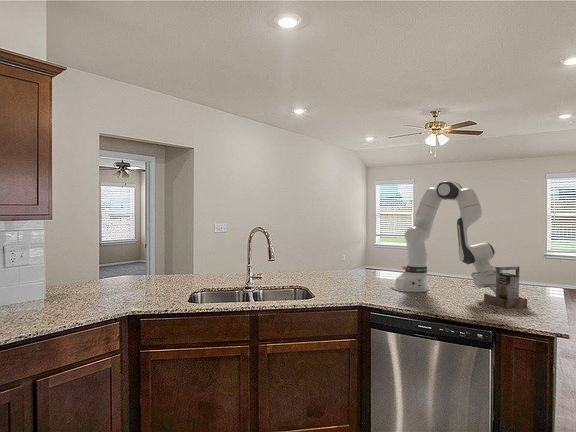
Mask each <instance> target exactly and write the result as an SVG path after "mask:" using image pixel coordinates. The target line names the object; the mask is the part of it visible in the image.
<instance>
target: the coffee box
mask: <svg viewBox="0 0 576 432" xmlns="http://www.w3.org/2000/svg"><path fill="white" fill-rule="evenodd" d="M519 294H520V275H519V276H518V275H516V274H513V273H509V272H503V273H500V289H499V298H501V299H504V300H513V299H518V295H519Z"/></svg>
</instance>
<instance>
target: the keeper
mask: <svg viewBox="0 0 576 432" xmlns="http://www.w3.org/2000/svg"><path fill="white" fill-rule="evenodd" d="M495 267H496V288H495V289H496V294H495V296H494V295H491V294H488V293H483V302H485V303H487V304H491V305H494V306H497V307H500V308H503V309H514V308H515V309H516V308H517V309H519V308H528V298H524V297H521V296H519V295H518V299H513V300H504V299H501V298H499V289H500V270H503V271H515V275H518V276H519V277H520V266H495Z"/></svg>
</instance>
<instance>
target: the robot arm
mask: <svg viewBox="0 0 576 432" xmlns="http://www.w3.org/2000/svg"><path fill="white" fill-rule="evenodd" d="M444 200H445V201H446V200H447V201H456V202H457V205H458V208H459V213H460V214H459V218H457V221H456V230H457V231H456V232H457V239H458V241H457V242H458V257H459V261H461V262H462V263H463V264H466V265H472V267H474V270H475V271H473V272H472V273H471V275H470V276H471V278H472V280H473V283H474V285H475V287H476V288H478V289H484V288H489V289H490V291H492V292H493V294H494V295H496V267H497V266H494V265H492V264H491V262H490V261H491V260H492V259H493V258H494V256H495V253H496V252H495V248H494V247H493V245H492V244H491V243H489V242H480V243H475V244H471V245H469V239H468V229H469V227H471V226H472V225H473V224H474V223H476V222H477V221H479V220H480V219H481V217H482V214H483V211H482V210H483V209H482V207H481V203H480V201H479V198H478V195H477V193H476V192H475V190H474V188H471V187H470V188H469V187H465V188H463V187H462V186H461V184H460V183H458V182H455V181H452V180H451V181H449V180H444V181H443V180H442V181H441V182H440V183H438V185H437V186H436V187H428V188H427V189H426V190H425V192H424V194H423V195H422V197H421V199H420V202H419V204H418V207H417V209H416V212H415V219H414V224H413V226H410V227H409V228H407V230H405V232H404V239H405V242H406V249H407V265H406V266H405V265H402V266H401V269H402V270H404V272H403V273H401V274H400V275H399V276H397V277H396V278H395V282H394V285H391V287H390V288H391V289H393V290H395V291H398V292H402V293H403V292H405V293H406V292H409V293H410V292H413V293H414V292H415V293H416V292H419V293H421V292H427V291H428V290H429V285H428V278H427V276H428V275H427V274H428V267H427V255H428V253H427V251H426V244H425V243H426V242H427V241H428V240H429V238H430V237H431V236H430V235H431V232H432V229H433V224H434V220H435V218H436V215H437V212H438V210H439V208H440V205H441V203H442V202H443V201H444ZM503 271H504V270H500V273H504V272H503Z"/></svg>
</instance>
